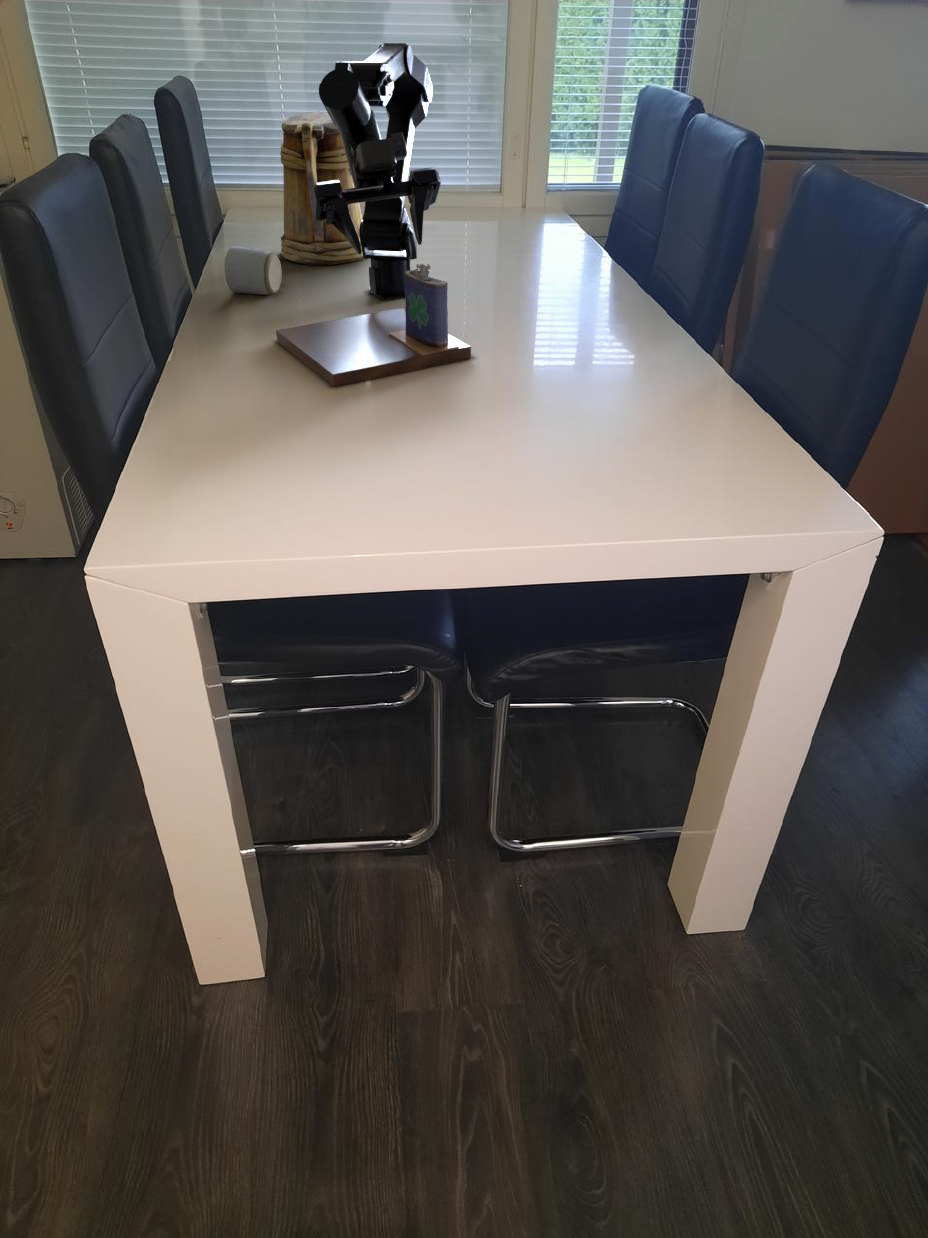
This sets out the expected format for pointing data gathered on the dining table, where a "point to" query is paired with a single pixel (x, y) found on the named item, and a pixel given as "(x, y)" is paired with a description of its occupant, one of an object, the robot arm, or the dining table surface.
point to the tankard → (307, 161)
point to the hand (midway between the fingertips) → (390, 247)
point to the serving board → (365, 347)
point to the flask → (426, 307)
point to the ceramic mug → (252, 271)
